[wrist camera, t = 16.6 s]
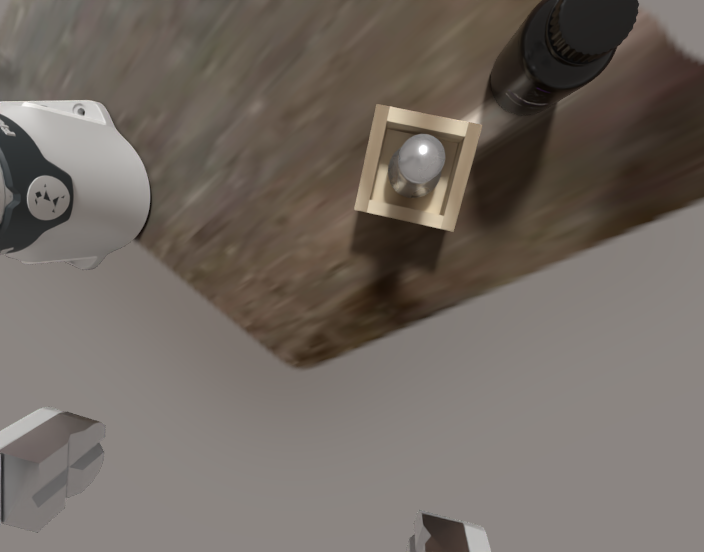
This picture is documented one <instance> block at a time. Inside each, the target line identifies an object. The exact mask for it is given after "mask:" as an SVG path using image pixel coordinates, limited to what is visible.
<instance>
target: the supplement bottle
mask: <svg viewBox="0 0 704 552" xmlns="http://www.w3.org/2000/svg"><path fill="white" fill-rule="evenodd" d="M638 6H639V3H638V1H637V0H542V1H541V2H540V3H539V4H538V5H537V6H536V7H535V8H534V9H533V10H532V11H531V13H530V14H529V15H528V17H527V18H526V19H525V21H524V22H523V23H522V25H521V26H520V27H519V29H518V30H517V31H516V33H515V34H514V35H513V37H512V38H511V39H510V41H509V42H508V43H507V45H506V46H505V47H504V49H503V50H502V52H501V53H500V54H499V56H498V58H497V59H496V61H495V63H494V66H493V69H492V73H491V89H492V93H493V96H494V98H495V100H496V101H497V103H498V104H499V105H500V106H501V107H502V108H503V109H505V110H506V111H508V112H510V113H512V114H516V115H531V114H535V113H538V112H540V111H543V110H544V109H546V108H548V107H550V106H551V105H553V104H555V103H556V102H558V101H560V100H561V99H563V98H565V97H566V96H568V95H570V94H571V93H573V92H575V91H576V90H578V89H580V88H581V87H583V86H585V85H586V84H588V83H589V82H591V81H592V80H593V79H595V78H596V77H597V76H598V75H599V74H600V73H601V72H602V71H603V70H604V69H605V68H606V67H607V65H608V64H609V63H610V61H611V59H612V58H613V56H614V54H615V51H616V49H617V46H618V45H620V44H621V43H622V41H623V40H624V39H625V38H627V36H628V34H629V32H630V31H631V30H632V29H633V24H634V23H635V22H636V16H637V14H638Z"/></svg>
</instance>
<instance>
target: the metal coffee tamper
mask: <svg viewBox="0 0 704 552" xmlns="http://www.w3.org/2000/svg"><path fill="white" fill-rule="evenodd" d="M444 163H445V151H444V148H443V145H442V144H441V142H440V141H439V140H438V139H437V138H435V137H434V136H431V135H428V134H418V135H415V136H412V137H411V138H409V139H408V140H407V141H406V142H405V143H404V144H403V146H402V147H401V148H399V149H398V150H397V151H396V152H395V153H394V154H393V156H392V158H391V160H390V162H389V166H388V177H389V181H390V184H391V186H392V187H393V189H394V190H395V191H396V192H397V193H398V194H400V195H402V196H404V197H407V198H418V197H421V196H424V195H426V194H428V193H429V192H431V191H432V190H433V189H434V188H435V187H436V185H437V184H438V182H439V180H440V177H441V171H442V168H443V166H444Z"/></svg>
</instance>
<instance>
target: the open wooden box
mask: <svg viewBox="0 0 704 552" xmlns="http://www.w3.org/2000/svg"><path fill="white" fill-rule="evenodd" d="M482 126H483V125H480V124H475V123H470V122H465V121H460V120H455V119H450V118H445V117H440V116H435V115H430V114H425V113H420V112H415V111H410V110H405V109H400V108H395V107H390V106H385V105H380V104H377V105H376V109H375V114H374V119H373V124H372V128H371V133H370V138H369V142H368V147H367V152H366V157H365V161H364V166H363V171H362V176H361V180H360V185H359V190H358V194H357V199H356V204H355V209H354V210H358V211H363V212H367V213H372V214H376V215H381V216H385V217H390V218H394V219H399V220H403V221H408V222H412V223H417V224H421V225H426V226H430V227H435V228H439V229H444V230H448V231H454V228H455V224H456V220H457V217H458V213H459V210H460V206H461V202H462V199H463V195H464V191H465V188H466V184H467V180H468V177H469V173H470V169H471V166H472V162H473V159H474V155H475V151H476V148H477V144H478V140H479V137H480V133H481V129H482ZM418 134H428V135H431V136H434V137H435V138H437V139H438V140H439V141H440V142H441V144H442V145H443V148H444V151H445V163H444V166H443V168H442V171H441V177H440V180H439V182H438V184H437V185H436V187H435V188H434V189H433V190H432V191H431V192H429V193H428V194H426V195H424V196H421V197H418V198H407V197H404V196H402V195H400V194H398V193H397V192H396V191H395V190H394V189H393V187H392V186H391V184H390V181H389V177H388V166H389V162H390V160H391V158H392V156H393V154H394V153H395V152H396V151H397V150H398V149H399V148H401V147H402V146H403V144H404V143H405V142H406V141H407V140H408V139H409V138H411V137H412V136H415V135H418Z"/></svg>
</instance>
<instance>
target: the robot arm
mask: <svg viewBox="0 0 704 552" xmlns="http://www.w3.org/2000/svg"><path fill="white" fill-rule="evenodd" d="M84 111H85V115H83V112H84ZM149 207H150V186H149V181H148V177H147V173H146V170H145V168H144V165H143V163H142V161H141V159H140V157H139V156H138V154H137V153H136V151H135V150H134V148H133V147H132V146H131V145H130V144H129V143H128V142H127V141H126V140H125V139H124V138H123V137H122V135H121V134H120V133H119V132H118V131H117V130H116V128H115V126H114V124H113V122H112V120H111V117H110V115H109V113H108V111H107V110H106V108H105V107H104V106H103V105H102V104H101V103H99V102H96V101H91V100H65V101H3V102H0V255H1V254H5V255H6V256H7V257H9V258H14V259H17V260H20V262H21V263H23V264H41V263H52V262H62V261H64V262H66V263H68V264H70V265H72V266H75V267H77V268H79V269H82V270H89V269H94V268H96V267H97V266H98V265H99V264H100V263H101V262H102V260H103V259H104V258H105V257H106V255H107V254H109V253H111V252H113V251H115V250H117V249H120V248H122V247H124V246H125V245H127V244H128V243H130V242H131V241H132V240H133V239H134V238H135V237H136V236H137V235H138V234H139V232H140V231H141V229H142V228H143V226H144V224H145V221H146V219H147V216H148V212H149ZM104 437H105V425H104V424H103V423H101V422H99V421H95V420H92V419H89V418H85V417H82V416H79V415H76V414H73V413H69V412H64V411H61V410H58V409H55V408H51V407H44V408H40V409H38V410H37V411H35V412H33V413H31V414H29V415H28V416H26V417H24V418H22V419H21V420H19V421H17V422H15V423H14V424H12V425H10V426H9V427H7V428H5V429H3V430H1V431H0V525H1V523H3V524H6V525H10V526H14V527H18V528H21V529H25V530H29V531H33V532H36V533H38V532H39V531H40V530H41V529H42V528H43V527H44V526H45V525H46V524H48V523H49V522H50V521H51V520H52V519H53V518H54V517H55V516H56V515H58V513H60V512H61V511H62V510H63V509H64V508H65V505H66V501H67V498H69V497H71V496H74V495H77V494H79V493H81V492H83V491H84V490H85V489H86V488H87V487H88V486H89V485H90V484H91V483H92V482H93V480H94V479H95V477H96V476H97V474H98V473H99V471H100V469H101V466H102V463H103V459H104V451H103V449H102V447H101V445H100V444H99V442H100V441H101V440H102V439H103V438H104ZM414 531H415V535H413V536H412V537H410V539H409V541H408V545H407V549H406V552H491V549H490V546H489V542H488V539H487V535H486V532H485V530H484V528H483V527H482V526H480V525H476V524H472V523H468V522H464V521H459V520H455V519H451V518H448V517H444V516H440V515H437V514H433V513H429V512H425V511H422V510H419V512H418V513H417V515H416V518H415V521H414Z"/></svg>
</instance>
